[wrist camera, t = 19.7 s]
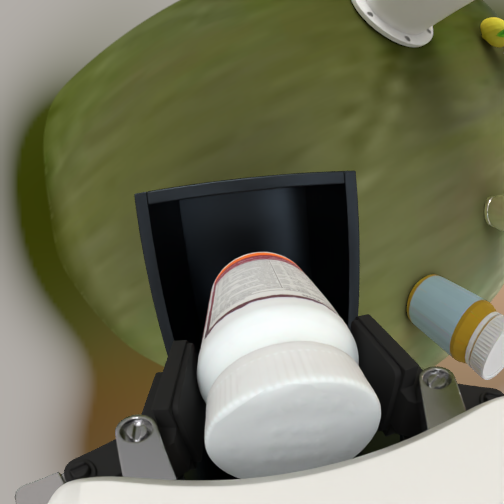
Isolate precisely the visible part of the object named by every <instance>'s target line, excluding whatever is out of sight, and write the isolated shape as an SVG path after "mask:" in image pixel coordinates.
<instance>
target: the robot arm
mask: <svg viewBox="0 0 504 504" xmlns="http://www.w3.org/2000/svg"><path fill="white" fill-rule="evenodd" d="M351 1H352V3H353V5H354V7H355V8H356V10H357V11H358V13H359V14H360V15H361V17H362V18H363V19H364V20H365V21H366V22H367V23H368V24H369V25H370V26H372V27H373V28H374V29H375V30H376V31H378V32H379V33H381V34H382V35H383V36H385V37H387V38H388V39H390V40H392V41H394V42H396V43H398V44H401V45H404V46H407V47H421V46H423V45H425V44H427V43H428V42H430V40H431V39H432V36H433V25H434V24H436V23H437V22H439V21H441V20H442V19H444V18H445V17H447V16H449V15H450V14H452V13H453V12H455V11H457V10H458V9H460V8H462V7H464V6H465V5H467V4H469V3H470V2H472V1H474V0H351ZM351 334H352V336H353V337H354V340H355V342H356V345H357V349H358V355H359V367H360V369H361V370H362V372H363V374H364V376H365V378H366V379H367V381H368V382H369V384H370V385H371V387H372V388H373V390H374V392H375V393H376V395H377V397H378V399H379V402H380V405H381V420H380V424H379V426H378V431H383V433H384V435H385V436H386V437H387V436H390V435H392V434H395V433H397V434H399V435H400V442H399V443H397V444H394V445H391V446H389V447H386V448H383V449H381V450H378V451H375V452H372V453H369V454H366V455H363V456H359V457H356V458H353V459H349V460H346V461H342V462H338V463H335V464H331V465H327V466H322V467H318V468H313V469H309V470H304V471H298V472H293V473H287V474H280V475H273V476H266V477H257V478H247V479H233V480H186V479H185V477H184V474H185V473H186V472H188V471H189V470H196V468H197V462H201V461H202V452H203V438H204V426H205V414H206V403H205V401H204V400H203V398H202V395H201V393H200V390H199V387H198V381H197V362H198V360H197V356H196V352H195V348H194V345H193V343H189V342H188V340H181V341H173V344H172V347H171V349H170V352H169V355H168V358H167V361H166V364H165V367H164V370H163V372H158V373H156V375H155V377H154V380H153V383H152V386H151V389H150V391H149V394H148V397H147V400H146V403H145V406H144V409H143V412H142V415H132V416H129V417H127V418H125V419H123V420H122V421H121V422H120V423H119V424H118V425H117V427H116V431H115V435H116V439H115V440H113V441H111V442H109V443H107V444H105V445H103V446H101V447H99V448H97V449H95V450H93V451H91V452H89V453H87V454H84V455H82V456H80V457H78V458H76V459H74V460H72V461H70V462H69V463H68V464H67V466H66V468H65V470H64V473H63V474H60V473H59V472H57V473H55V474H52V475H50V476H47V477H45V478H42V479H40V480H37V481H34V482H32V483H29V484H26V485H24V486H22V487H20V488H19V489H18V490H17V492H16V495H15V500H16V504H504V394H503V393H502V392H501V391H499V390H497V389H493V388H485V387H477V386H469V385H463V384H457V381H456V379H455V376H454V375H453V373H452V372H451V371H450V370H448V369H446V368H443V367H429V368H426V369H424V370H422V369H421V368H420V367H419V365H418V364H417V363H416V362H415V361H414V360H413V359H412V358H411V356H410V355H409V354H408V353H407V352H406V351H405V350H404V349H403V348H402V347H401V346H400V345H399V344H398V343H397V342H396V341H395V340H394V339H393V338H392V337H391V336H390V335H389V334H388V333H387V332H386V331H385V330H384V329H383V328H382V327H381V326H380V325H379V324H378V323H377V322H376V321H375V320H374V319H373V318H372V317H371V316H370V315H369V314H367V315H363V316H358V317H356V318H355V321H352V322H351Z"/></svg>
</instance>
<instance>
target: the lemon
mask: <svg viewBox="0 0 504 504" xmlns="http://www.w3.org/2000/svg"><path fill="white" fill-rule="evenodd" d="M480 29H481V33H482V38H483V39H485V40H486V41H487V42H488V43H489V44H490V45H492V46H494V47H504V21H503V20H502V19H500V18H495V17H492V18H487V19H485V20H483V22H482V23H481V25H480Z"/></svg>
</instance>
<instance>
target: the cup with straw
mask: <svg viewBox="0 0 504 504" xmlns="http://www.w3.org/2000/svg"><path fill="white" fill-rule="evenodd" d="M484 217H485V221H486V223H487V224H488V225H489V226H493V227H494V228H496V229H498V230H500V231H503V232H504V195H499V196H495V197H494V196H490V197H488V199H487V200H486V203H485V207H484Z"/></svg>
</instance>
